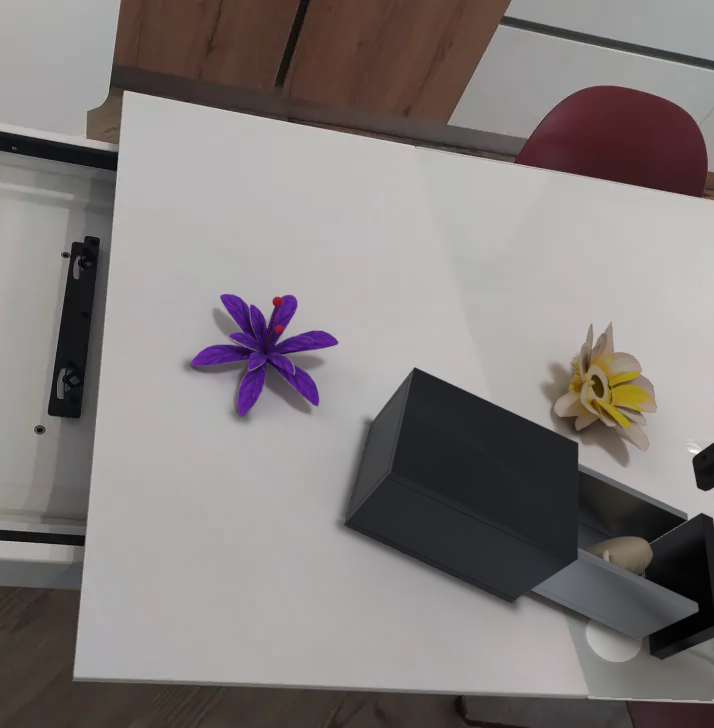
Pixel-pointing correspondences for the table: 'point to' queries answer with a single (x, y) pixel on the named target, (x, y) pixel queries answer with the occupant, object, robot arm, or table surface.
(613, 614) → the drawer with silver handle
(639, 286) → the table surface
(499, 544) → the cabinet
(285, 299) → the decorative flower
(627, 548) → the decorative ornament
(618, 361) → the decorative flower
